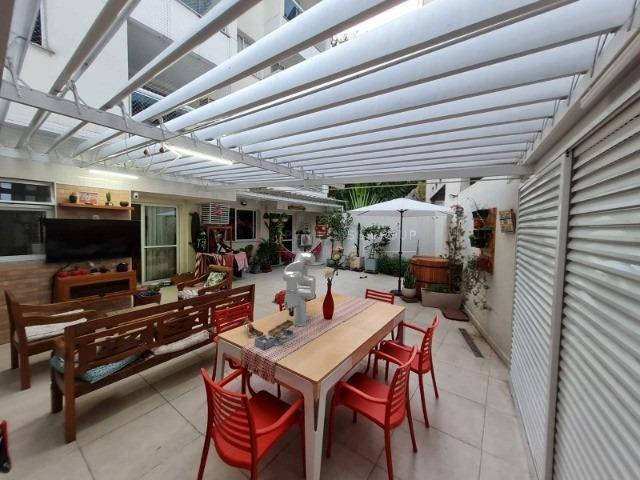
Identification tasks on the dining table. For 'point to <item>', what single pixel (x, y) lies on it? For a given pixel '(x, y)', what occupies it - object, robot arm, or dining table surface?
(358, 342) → the dining table surface
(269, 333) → the seesaw
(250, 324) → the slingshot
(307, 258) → the robot arm
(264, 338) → the tray
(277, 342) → the fulcrum
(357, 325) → the dining table surface
